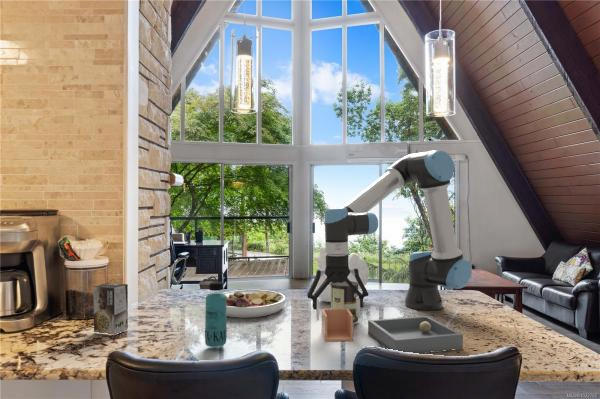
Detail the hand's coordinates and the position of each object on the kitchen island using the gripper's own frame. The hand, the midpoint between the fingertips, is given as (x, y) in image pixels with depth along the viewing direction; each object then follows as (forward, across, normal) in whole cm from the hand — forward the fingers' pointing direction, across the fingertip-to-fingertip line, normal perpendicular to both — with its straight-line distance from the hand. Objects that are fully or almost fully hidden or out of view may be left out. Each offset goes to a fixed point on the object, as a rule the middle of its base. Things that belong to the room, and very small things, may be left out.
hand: (338, 318), depth 135 cm
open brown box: (+6, -1, -1) cm, 6 cm away
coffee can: (+6, +5, +15) cm, 17 cm away
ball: (+3, +29, -3) cm, 29 cm away
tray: (+6, +23, -8) cm, 25 cm away
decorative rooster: (+6, +9, +43) cm, 44 cm away
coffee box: (+4, -76, +7) cm, 77 cm away
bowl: (+6, -32, +34) cm, 47 cm away
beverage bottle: (+5, -39, -10) cm, 40 cm away
